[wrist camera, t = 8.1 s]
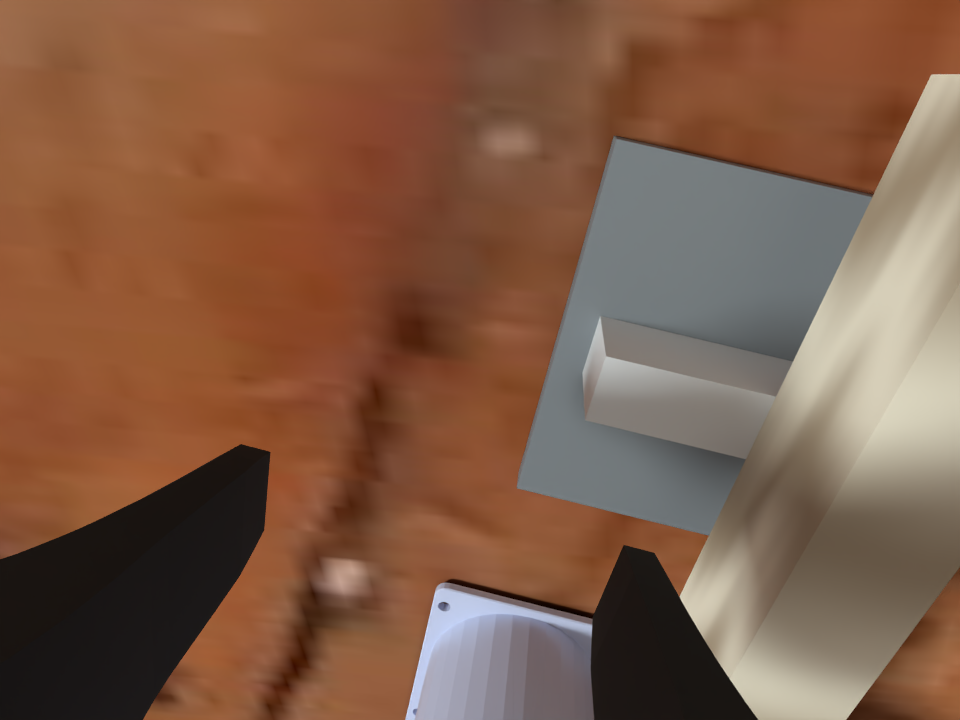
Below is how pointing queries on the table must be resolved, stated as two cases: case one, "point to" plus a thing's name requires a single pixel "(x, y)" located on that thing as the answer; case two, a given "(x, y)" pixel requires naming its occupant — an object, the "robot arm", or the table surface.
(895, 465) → the birch beam
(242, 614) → the table surface
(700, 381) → the grey stepped base
